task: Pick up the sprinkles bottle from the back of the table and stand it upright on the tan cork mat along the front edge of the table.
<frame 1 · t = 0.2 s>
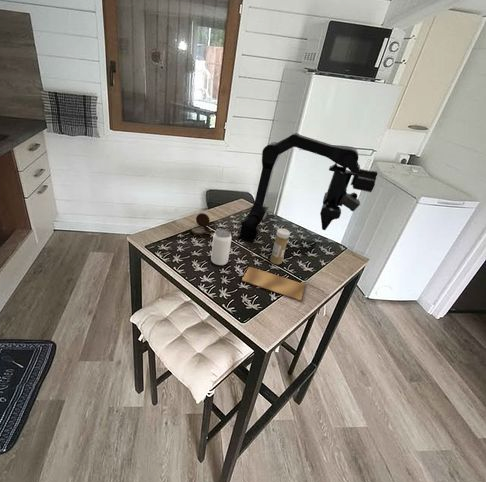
hand: (324, 224, 105), 15 cm above the table, tool pointing down, fingers open, 9 cm apart
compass: (201, 232, 121), on the table
front mat: (273, 283, 96), on the table
sprinkles bottle: (275, 261, 107), on the table
can: (219, 261, 104), on the table
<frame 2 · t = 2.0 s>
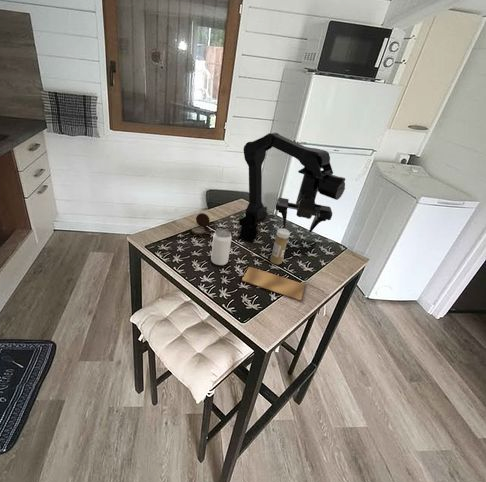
hand: (296, 229, 102), 13 cm above the table, tool pointing down, fingers open, 9 cm apart
nothing on the table moved.
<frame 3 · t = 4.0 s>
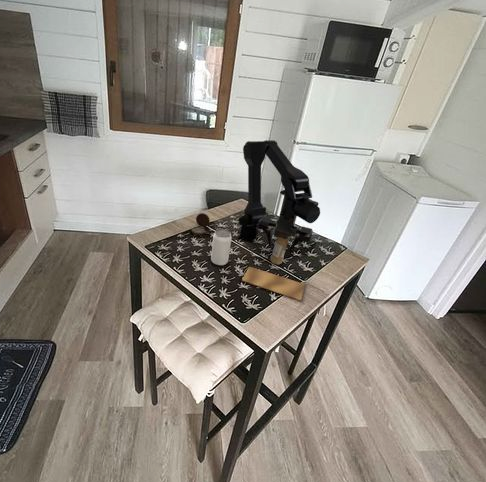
hand: (279, 248, 104), 6 cm above the table, tool pointing down, fingers closed on sprinkles bottle, 7 cm apart
sprinkles bottle: (275, 261, 107), on the table, touching gripper
everything else where it was.
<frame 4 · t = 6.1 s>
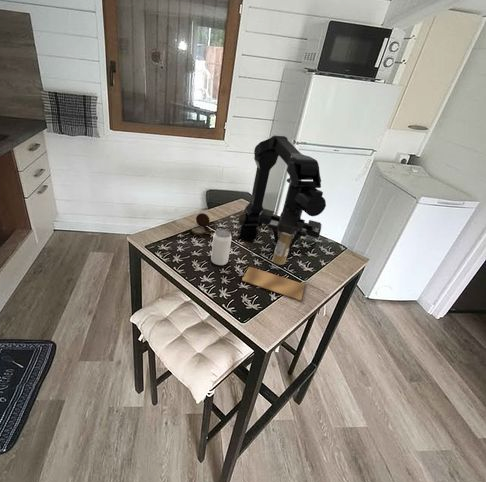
hand: (283, 245, 91), 13 cm above the table, tool pointing down, fingers closed on sprinkles bottle, 4 cm apart
sprinkles bottle: (278, 261, 95), point 7 cm above the table, touching gripper
everything else where it was.
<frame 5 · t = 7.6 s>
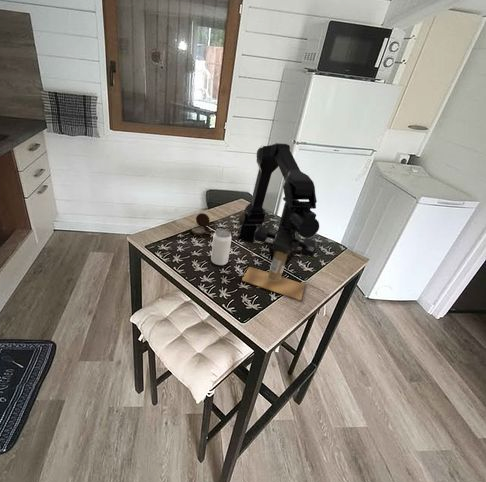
hand: (278, 262, 91), 9 cm above the table, tool pointing down, fingers closed on sprinkles bottle, 4 cm apart
sprinkles bottle: (273, 277, 95), point 2 cm above the table, touching gripper
everything else where it was.
when the fingers open (7 cm above the table, at t = 8.5 s): sprinkles bottle stays where it is, resting on front mat.
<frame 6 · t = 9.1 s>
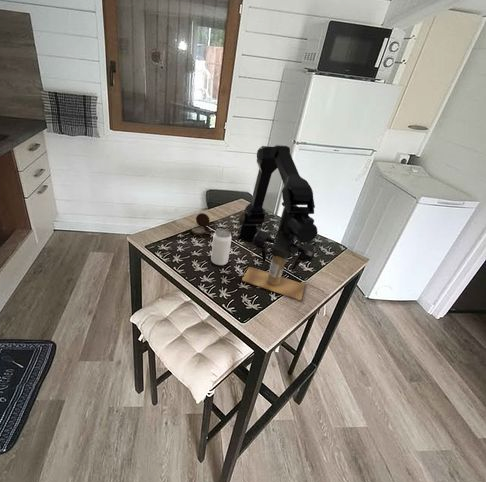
hand: (277, 266, 92), 7 cm above the table, tool pointing down, fingers open, 9 cm apart
sprinkles bottle: (272, 281, 96), resting on front mat
everything else where it was.
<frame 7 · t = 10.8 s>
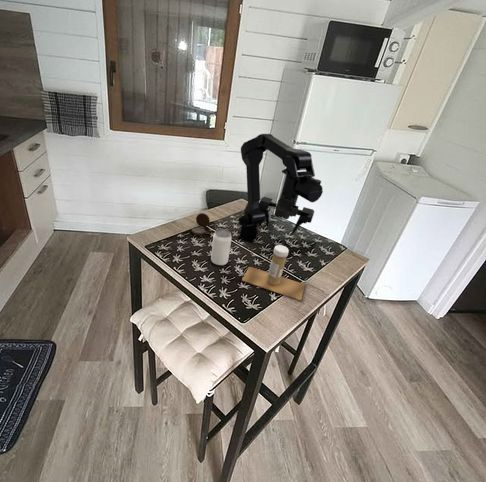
hand: (279, 230, 102), 13 cm above the table, tool pointing down, fingers open, 9 cm apart
nothing on the table moved.
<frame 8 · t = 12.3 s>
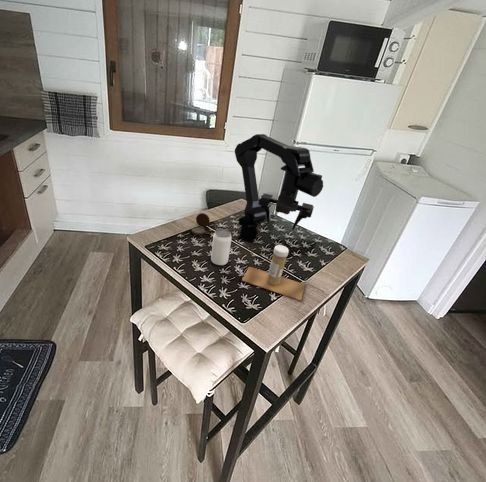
hand: (280, 226, 104), 13 cm above the table, tool pointing down, fingers open, 9 cm apart
nothing on the table moved.
at the end: sprinkles bottle inside the target area on the front mat (0.4 cm from its centre), point 0.2 cm above the front mat's base; sprinkles bottle tilted 0° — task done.
